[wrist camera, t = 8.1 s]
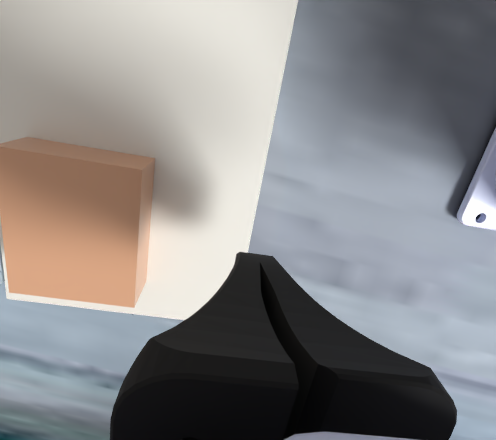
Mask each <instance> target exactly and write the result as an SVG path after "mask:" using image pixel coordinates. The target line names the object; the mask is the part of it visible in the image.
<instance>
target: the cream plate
mask: <svg viewBox="0 0 496 440" xmlns="http://www.w3.org/2000/svg"><path fill="white" fill-rule="evenodd" d="M297 3H298V0H0V143H4V142H8V141H12V140H16V139H20V138H24V137H31V138H37V139H43V140H49V141H55V142H61V143H67V144H73V145H79V146H85V147H91V148H97V149H103V150H109V151H115V152H121V153H127V154H133V155H139V156H145V157H151V158H155V169H154V183H153V197H152V211H151V225H150V239H149V253H148V266H147V280H146V284H145V286H144V288H143V290H142V292H141V294H140V297H139V299H138V301H137V303H136V305H135V308H131V307H123V306H114V305H106V304H98V303H90V302H82V301H74V300H65V299H57V298H49V297H41V296H33V295H25V294H16V293H9V288H8V279H7V270H6V261H5V252H4V244H3V235H2V226H1V217H0V245H1V253H2V262H3V270H4V279H5V287H6V296H7V299H13V300H22V301H30V302H38V303H46V304H55V305H63V306H71V307H80V308H88V309H96V310H105V311H113V312H121V313H129V314H138V315H146V316H154V317H163V318H171V319H179V320H186V319H187V318H189V317H190V316H192V315H193V314H194V313H195V312H197V311H198V310H199V309H200V308H201V307H202V306H203V305H205V304H206V303H207V302H208V301H209V300H210V299H211V298H212V297H213V295H214V294H215V293H216V292H217V291H218V290H219V288H220V287H221V286H222V284H223V283H224V281H225V280H226V279H227V277H228V275H229V274H230V272H231V270H232V268H233V266H234V264H235V258H236V254H237V253H239V252H245V253H248V248H249V243H250V238H251V233H252V228H253V223H254V218H255V213H256V208H257V203H258V198H259V193H260V188H261V183H262V178H263V173H264V168H265V163H266V158H267V153H268V148H269V143H270V138H271V133H272V128H273V123H274V118H275V113H276V108H277V103H278V98H279V93H280V88H281V83H282V78H283V73H284V68H285V63H286V58H287V53H288V48H289V43H290V38H291V33H292V28H293V23H294V18H295V13H296V8H297Z"/></svg>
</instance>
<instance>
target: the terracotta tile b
mask: <svg viewBox="0 0 496 440" xmlns="http://www.w3.org/2000/svg"><path fill="white" fill-rule="evenodd" d="M154 169H155V158H151V157H145V156H139V155H133V154H127V153H121V152H115V151H109V150H103V149H97V148H91V147H85V146H79V145H73V144H67V143H61V142H55V141H49V140H43V139H37V138H31V137H24V138H20V139H16V140H12V141H8V142H4V143H0V217H1V226H2V235H3V244H4V252H5V261H6V270H7V279H8V288H9V293H16V294H25V295H33V296H41V297H49V298H57V299H65V300H74V301H82V302H90V303H98V304H106V305H114V306H123V307H131V308H135V305H136V303H137V301H138V299H139V297H140V294H141V292H142V290H143V288H144V286H145V284H146V280H147V266H148V253H149V239H150V225H151V211H152V197H153V183H154Z"/></svg>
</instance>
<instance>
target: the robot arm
mask: <svg viewBox="0 0 496 440" xmlns="http://www.w3.org/2000/svg"><path fill="white" fill-rule="evenodd" d="M480 213H481V215H480V217H479V218H478V219H477V220H475V219H476V217H477V215H478V214H480ZM457 220H458V221H459V222H460V223H462V224H464V225H466V226H472V227H479V228H485V229H491V230H496V128H495V130H494V132H493V134H492V137H491V139H490V141H489V143H488V146H487V148H486V150H485V152H484V155H483V157H482V159H481V161H480V163H479V166H478V168H477V170H476V172H475V175H474V177H473V179H472V181H471V184H470V186H469V188H468V190H467V192H466V195H465V197H464V199H463V201H462V204H461V206H460V208H459V210H458V213H457ZM456 419H457V410H456V407H455V405H454V402H453V400H452V398H451V397H450V395H449V394H448V393H447V391H446V390H445V388H444V387H443V385H442V384H441V383H440V381H439V380H438V378H437V377H436V375H435V374H434V372H433V371H432V370H431V368H429V367H427V366H425V365H423V364H420V363H418V362H416V361H414V360H411V359H409V358H407V357H405V356H402V355H400V354H398V353H395V352H393V351H391V350H389V349H388V348H386V347H384V346H382V345H380V344H378V343H376V342H374V341H372V340H371V339H369V338H367V337H365V336H364V335H362V334H360V333H359V332H357V331H356V330H354V329H352V328H351V327H349V326H348V325H346V324H345V323H343V322H342V321H340V320H339V319H337V318H336V317H335V316H333V315H332V314H331V313H330V312H328V311H327V310H326V309H324V308H323V307H322V306H321V305H319V304H318V303H317V302H316V301H315V300H314V299H313V298H312V297H310V296H309V295H308V294H307V293H306V292H305V291H304V290H303V289H302V288H301V287H300V286H299V285H298V284H297V283H296V282H295V281H294V280H293V278H292V277H291V276H290V275H289V274H288V273H287V272H286V271H285V270H284V268H283V267H282V266H281V265H280V264H279V263H278V261H277V260H276V259H275V258H274V257H273V256H267V255H260V254H252V253H245V252H239V253H237V254H236V258H235V264H234V266H233V268H232V270H231V272H230V274H229V275H228V277H227V279H226V280H225V281H224V283H223V284H222V286H221V287H220V288H219V290H218V291H217V292H216V293H215V294H214V295H213V297H212V298H211V299H210V300H209V301H208V302H207V303H206V304H205V305H203V306H202V307H201V308H200V309H199V310H198V311H197V312H195V313H194V314H193V315H192V316H190V317H189V318H187V319H186V320H184V321H183V322H181V323H180V324H178V325H177V326H175V327H173V328H171V329H169V330H167V331H165V332H163V333H161V334H159V335H157V336H155V337H152V338H151V339H149V341H148V342H147V343H146V345H145V346H144V348H143V349H142V351H141V352H140V353H139V355H138V357H137V358H136V360H135V361H134V363H133V365H132V366H131V368H130V370H129V372H128V374H127V376H126V377H125V379H124V381H123V384H122V386H121V388H120V391H119V394H118V396H117V399H116V402H115V404H114V407H113V412H112V416H111V426H110V440H449V438H450V436H451V434H452V432H453V429H454V427H455V424H456Z"/></svg>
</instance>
